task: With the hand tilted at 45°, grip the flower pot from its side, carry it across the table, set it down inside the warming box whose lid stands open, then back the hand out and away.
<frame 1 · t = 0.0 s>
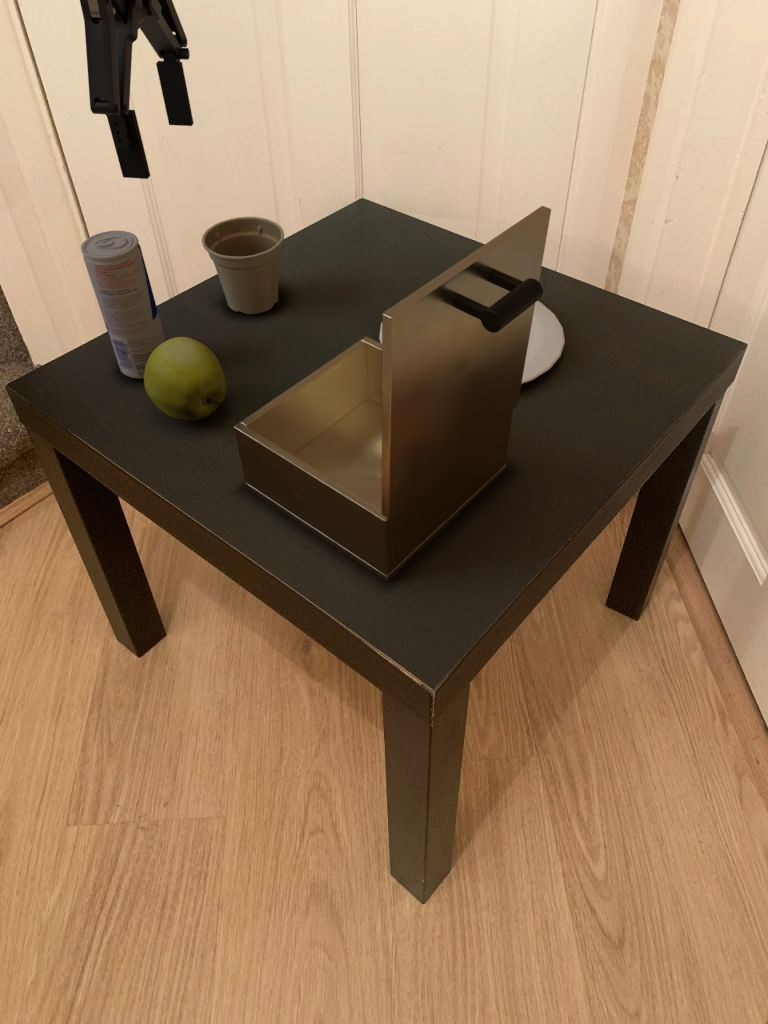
hand: (160, 149, 87), 17 cm above the table, tool pointing down, fingers open, 13 cm apart
apple: (192, 411, 84), on the table
beverage can: (146, 367, 89), on the table
warmer lid: (483, 379, 58), point 17 cm above the table, hinge at 92.0°
plate: (470, 345, 91), on the table
warmer: (376, 479, 76), on the table
flower pot: (254, 303, 98), on the table
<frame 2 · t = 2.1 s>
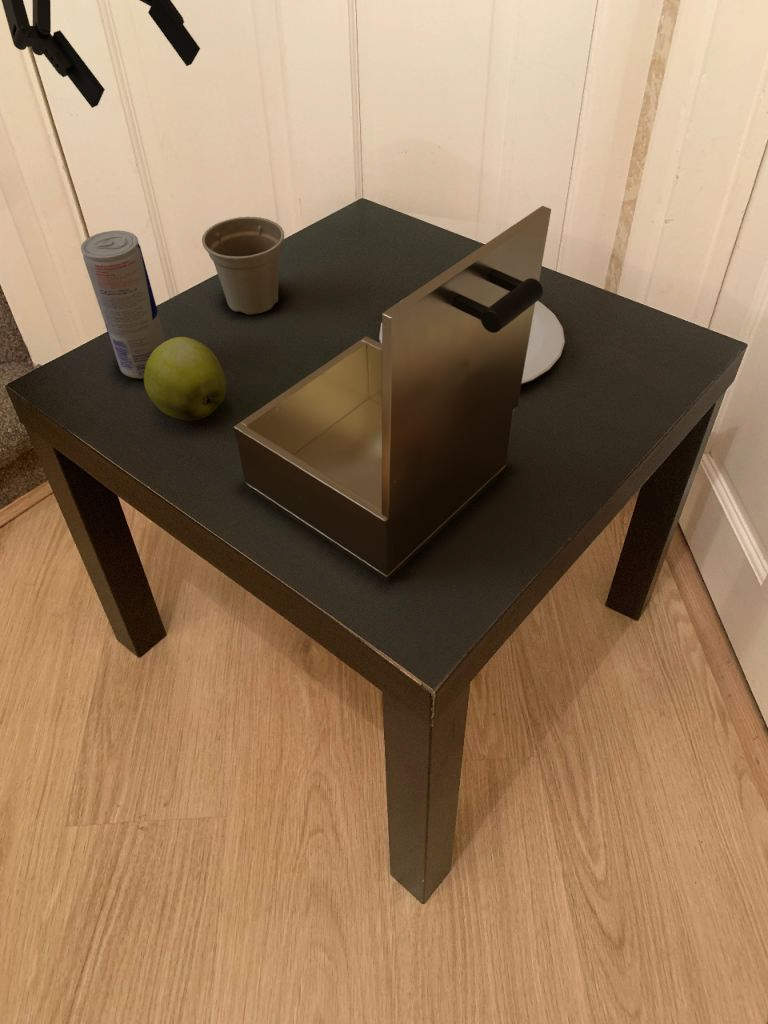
hand: (148, 77, 84), 24 cm above the table, tool tilted 45°, fingers open, 13 cm apart
nothing on the table moved.
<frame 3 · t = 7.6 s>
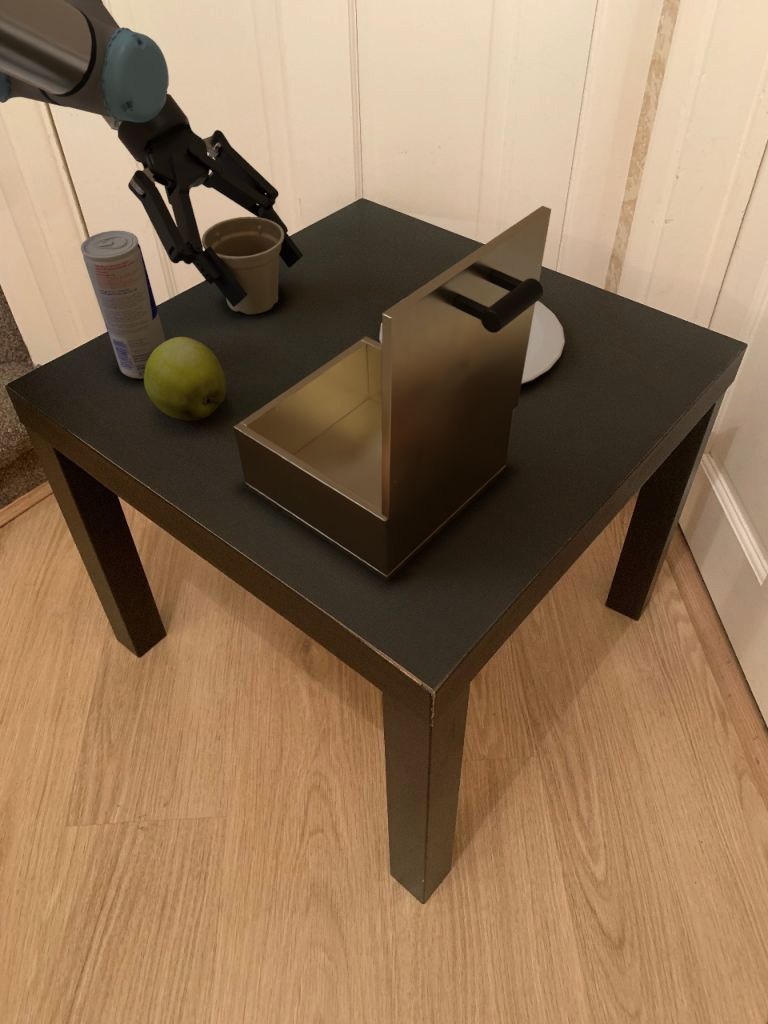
hand: (269, 280, 93), 4 cm above the table, tool tilted 45°, fingers closed on flower pot, 9 cm apart
flower pot: (253, 303, 98), on the table, touching gripper
everything else where it was.
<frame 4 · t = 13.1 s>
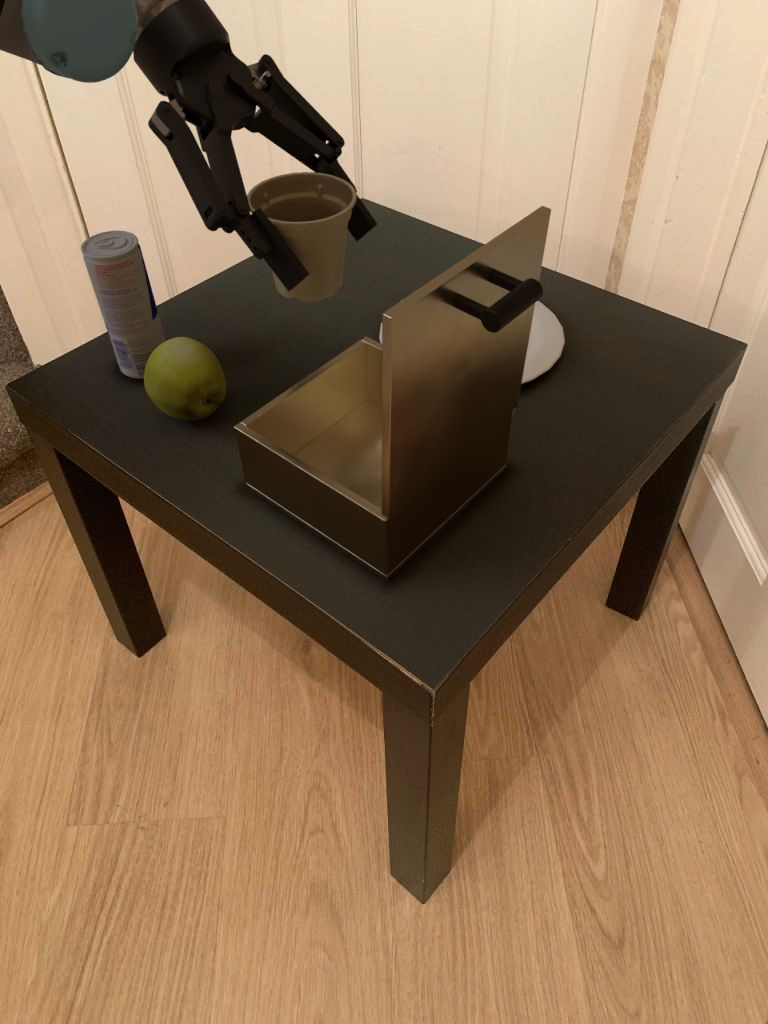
hand: (334, 256, 70), 18 cm above the table, tool tilted 45°, fingers closed on flower pot, 9 cm apart
flower pot: (310, 287, 74), point 14 cm above the table, touching gripper
everything else where it was.
when the fingers open (6 cm above the table, at t = 18.7 s): flower pot drops 1 cm, resting on warmer.
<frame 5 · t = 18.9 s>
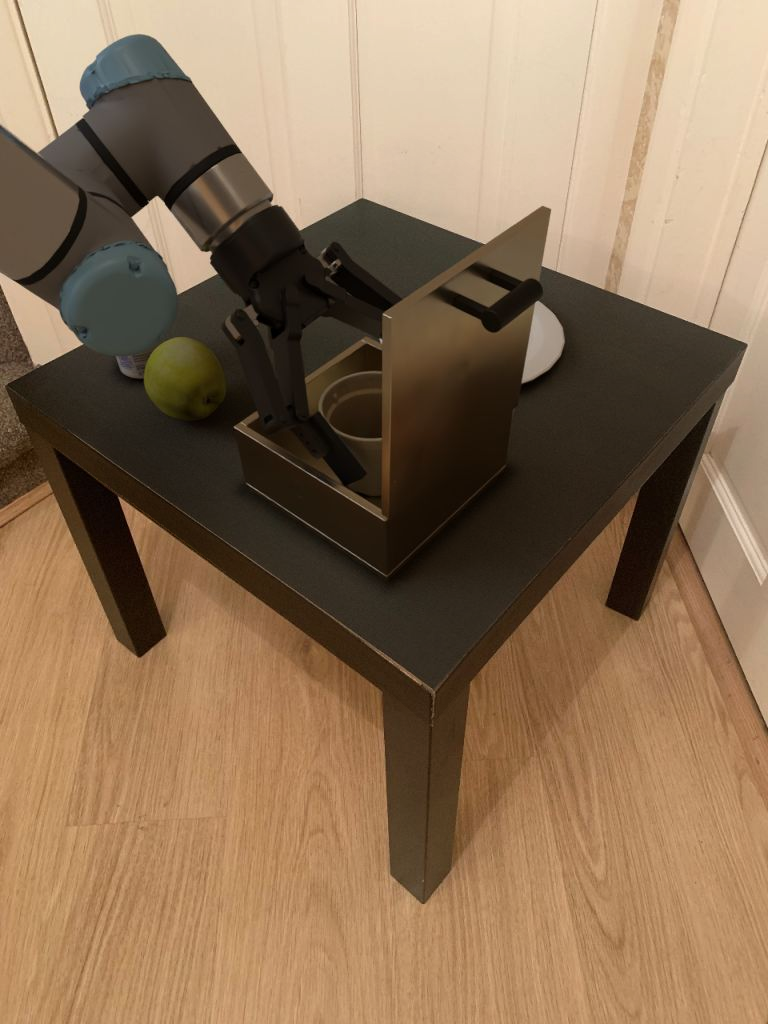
hand: (398, 438, 70), 7 cm above the table, tool tilted 45°, fingers open, 12 cm apart
flower pot: (375, 476, 75), point 1 cm above the table, touching warmer
everything else where it was.
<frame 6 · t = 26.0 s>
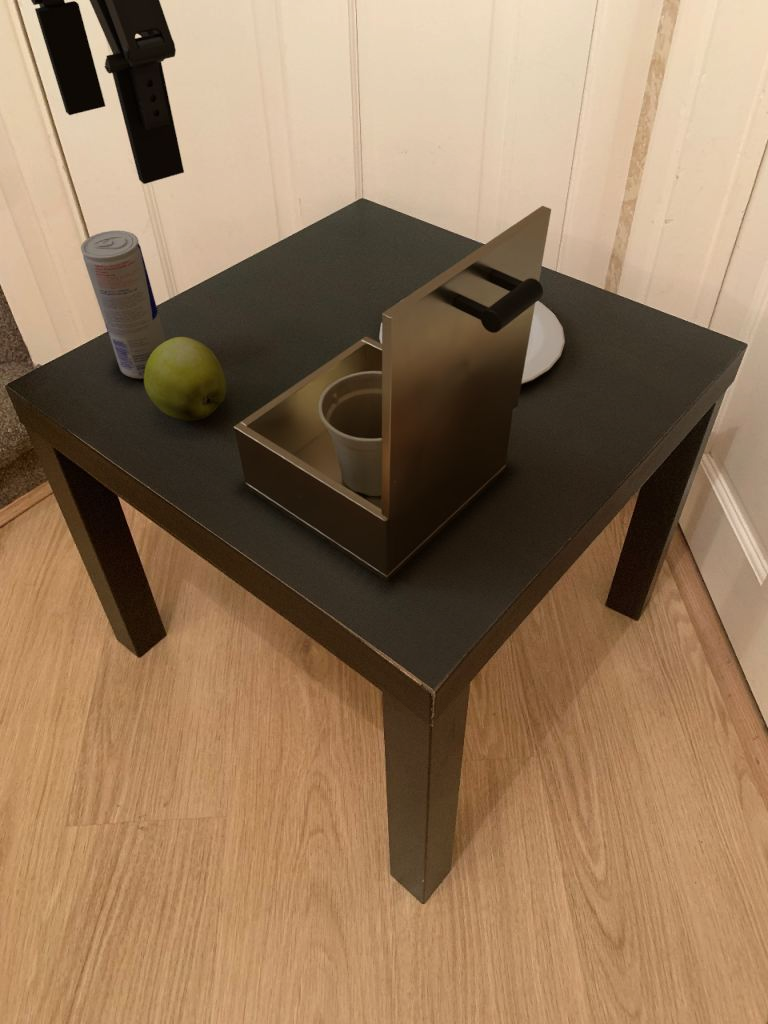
hand: (121, 141, 53), 32 cm above the table, tool pointing down, fingers open, 13 cm apart
nothing on the table moved.
at the end: flower pot inside the target area in the warmer (0.2 cm from its centre), point 0.6 cm above the warmer's base; flower pot tilted 0°; the gripper is holding nothing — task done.
